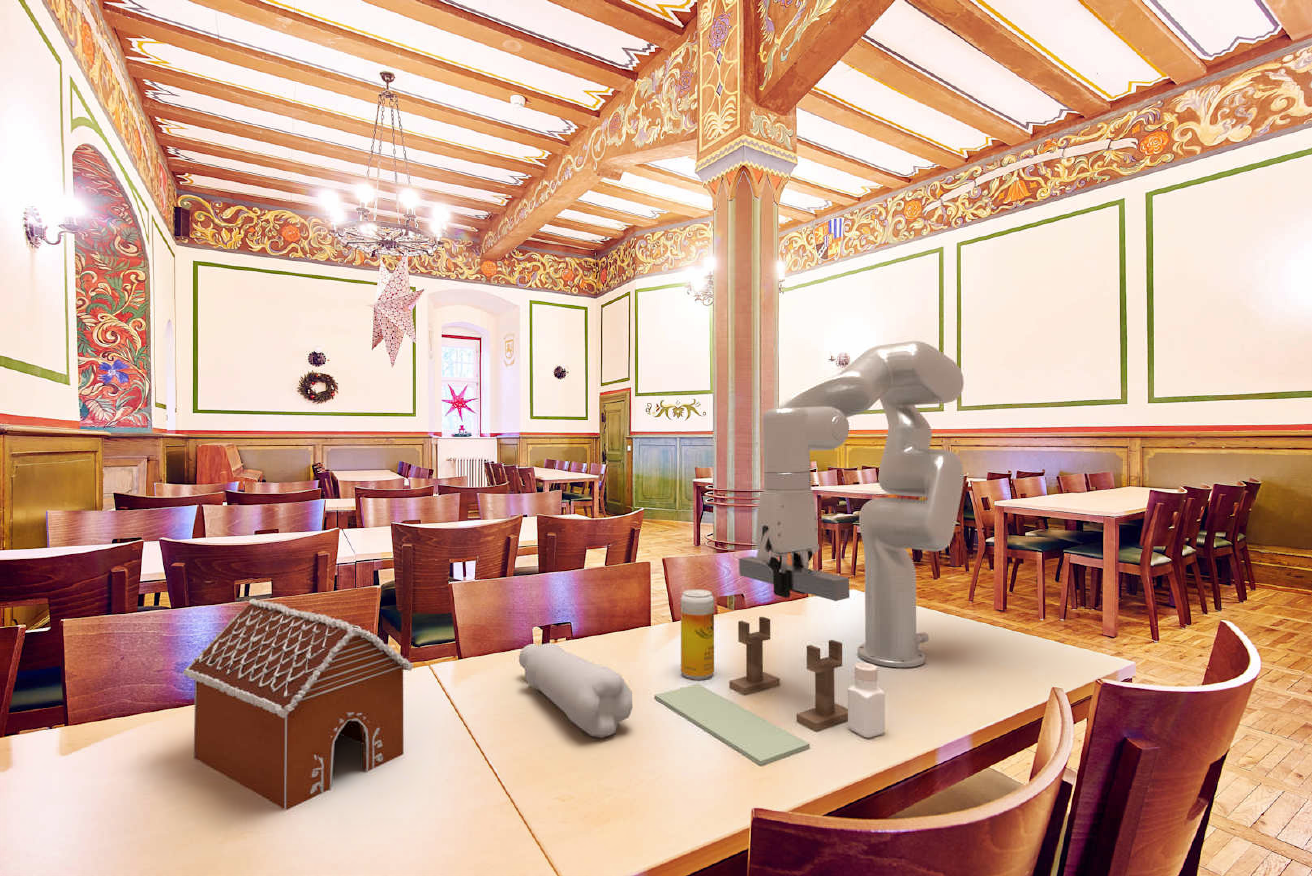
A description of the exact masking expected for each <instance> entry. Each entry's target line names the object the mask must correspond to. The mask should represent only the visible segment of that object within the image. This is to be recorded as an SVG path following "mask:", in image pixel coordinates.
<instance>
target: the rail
mask: <svg viewBox="0 0 1312 876" xmlns="http://www.w3.org/2000/svg"><path fill="white" fill-rule="evenodd" d="M738 562H739V563H738V566H739V568H738V569H739V573H738V574H739V576H740V577H745V578H749V579H753V580H756V581H759V582H763V583H767V584H771V585H774V583H773V571H771V570H770V567H769V566H768V565H767V564H766V562H764V561H762V560H760V559H758V558H757V556H746V557H740V558H738ZM786 572H787V573H789V580H790V589H793V590H796V591H800V592H804V593H806V594H808V595H811V596H815V597H819V598H823V599H825V600H830V601H835V602H838V601H842V600H846V599H850V578H849V577H846V576H842V575H837V574H832V573H828V572H823V571H819V570H815V569H810V568H808V569H806V568H802V567H797V566H793V565H792V564H789V563H787V571H786Z"/></svg>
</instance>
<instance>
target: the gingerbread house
mask: <svg viewBox="0 0 1312 876" xmlns="http://www.w3.org/2000/svg"><path fill="white" fill-rule="evenodd" d="M248 603H249V604H250V605H249V604H248V605H247V606H246V607H244V609H243V610H242V611H239V612H237V613H236V616H235V617H233V618H231V619H230V620H229V621H228V623H227V625H226V626H225V627H222V631H221V632H218V633H216V634H215V637H214V639H213V640H212V641H211V642H210V643H208V645H207V646H206V648H204V649H202V650H201V652H200V653H199V655H198V656H197V657H195V658H194V659H193V660H192V662H191V664H189V665H188V666H186V667H185V669H184V670H183V671H182V674H183V675H184V676H186V678H187V677H188V678H189V679H192V680H194V722H193V723H194V724H193V726H194V727H193V728H194V732H193V736H194V737H193V740H194V741H193V742H194V743H193V760H197V761H199V762H201V763H202V764H204V765H205V766H208V767H209V768H211V769H213V770H214V771H216V772H218V773H220V774H222V775H223V776H225V777H226V778H229V779H231V780H233V781H234V782H236V783H237V784H239V785H241V786H242V787H244V788H247V789H248V790H250V791H251V792H254V793H255V794H257V795H259V796H260V795H261V796H260V797H262V798H264V799H266V800H267V799H268V801H269V802H271V803H273V804H275V805H277V806H279V808H281V809H283V810H284V811H285V812H286V811H288V810H290V809H293V808H294V807H296V806H298V805H300V804H303V803H305V802H307V801H308V800H309V801H310V800H311V799H313V798H315V797H317V796H319V795H322V794H324V793H326V792H328V791H331V790H332V786H333V785H332V784H333V767H334V753H335V741H336V740H337V738H338V737H339V736H342V737H344V738H347V739H349V740H352V741H354V742H357V743H359V744H362V746H363V747H362V748H363V754H362V755H363V756H362V770H364V771H365V773H368V772H369V771H371V770H374V769H376V768H377V767H380V766H382V765H384V764H386V763H388V762H390V761H393V760H395V759H397V758H399V757H400V756H402V755H404V753H405V752H404V751H405V750H404V748H405V747H404V746H405V745H404V740H405V739H404V670H405V671H410V672H411V671H412V669H413V667H414V665H413V662H410V661H409V660H408V659H407V658H404V657H403V655H401V653H399V652H397V651H396V650H395V649H394V648H393V647H392V646H389V644H388V643H386V644H385V643H384V641H383V639H381V638H380V637H378V636H377V634H374V633H373V632H370V630H366V629H364V628H362V627H361V626H359V625H356V624H351V623H349V622H347V621H343V620H342V619H341V618H340V619H338V618H337V619H335V618H334V617H333V618H332V617H331V616H327V615H326V614H322V613H317V614H316V612H310V611H306V610H304V611H303V610H297V609H295V608H290V607H288V606H287V605H283V603H278V602H276V603H274V601H272V602H270V601H263V600H257V599H256V598H255V597H254V598H251V599H249V601H248Z"/></svg>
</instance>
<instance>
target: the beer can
mask: <svg viewBox="0 0 1312 876" xmlns="http://www.w3.org/2000/svg"><path fill="white" fill-rule="evenodd" d="M680 672H681V673H682V674H683V676H684V677H686V678H685V679H690V680H693V681H694V680H695V681H697V680H698V681H702V680H707V679H710V678H711V677H712V674H714V672H715V599H714V595H712V592H711V591H710V590H706V589H688V590H685V591H683V592H682V596H681V597H680Z"/></svg>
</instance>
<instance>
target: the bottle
mask: <svg viewBox="0 0 1312 876" xmlns="http://www.w3.org/2000/svg"><path fill="white" fill-rule="evenodd" d="M518 662H519V664H520V666H521V667H522V668H523V669H524V677H525V678H526V681H527V684H528V685H529V686H530V687H531V688H533V690H539V691H540V692H542V693H543V694H544V695H545V696H546V697H547V699H549V700H550V701H551V702H552V703H554V704H555V705H556V706H557V707H558V708H559V709H560V710H561V711H562V712H563V713H565V714H566V716H567V718H568V719H569V720H570V721H571V722H572V723H573V724H574V725H576V726H577V727H578V728H580V729H581V730H582V731H584V732H585V733H587V734H588V735H589V736H590V737H595V738H599V739H601V738H605V737H609V736H612V735H614V733H616V731H617V727H618V724H619V723H621V722H622V721H624V720H626V719H628V718H630V716H631V713H632V710H633V691H632V690H631V688H630V687H629V686H628V685H627V683H626V682H625V679H624V678H623V677H622V675H621V674H620V673H617V672H616V671H614V670H612V669H611V668H608V667H607V666H604V665H601V664H597V663H594V662H592V661H588V660H586V659H584V658H581V657H580V656H577V655H575V654H572V653H570V652H568V651H565V650H564V649H563V648H562V647H561V646H560V645H559V644H556V643H551V642H547V643H543V644H541V645H538V644H535V643H531V644H527V645H526V646H523V648H522V649H521V650H520V653H519V655H518Z"/></svg>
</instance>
